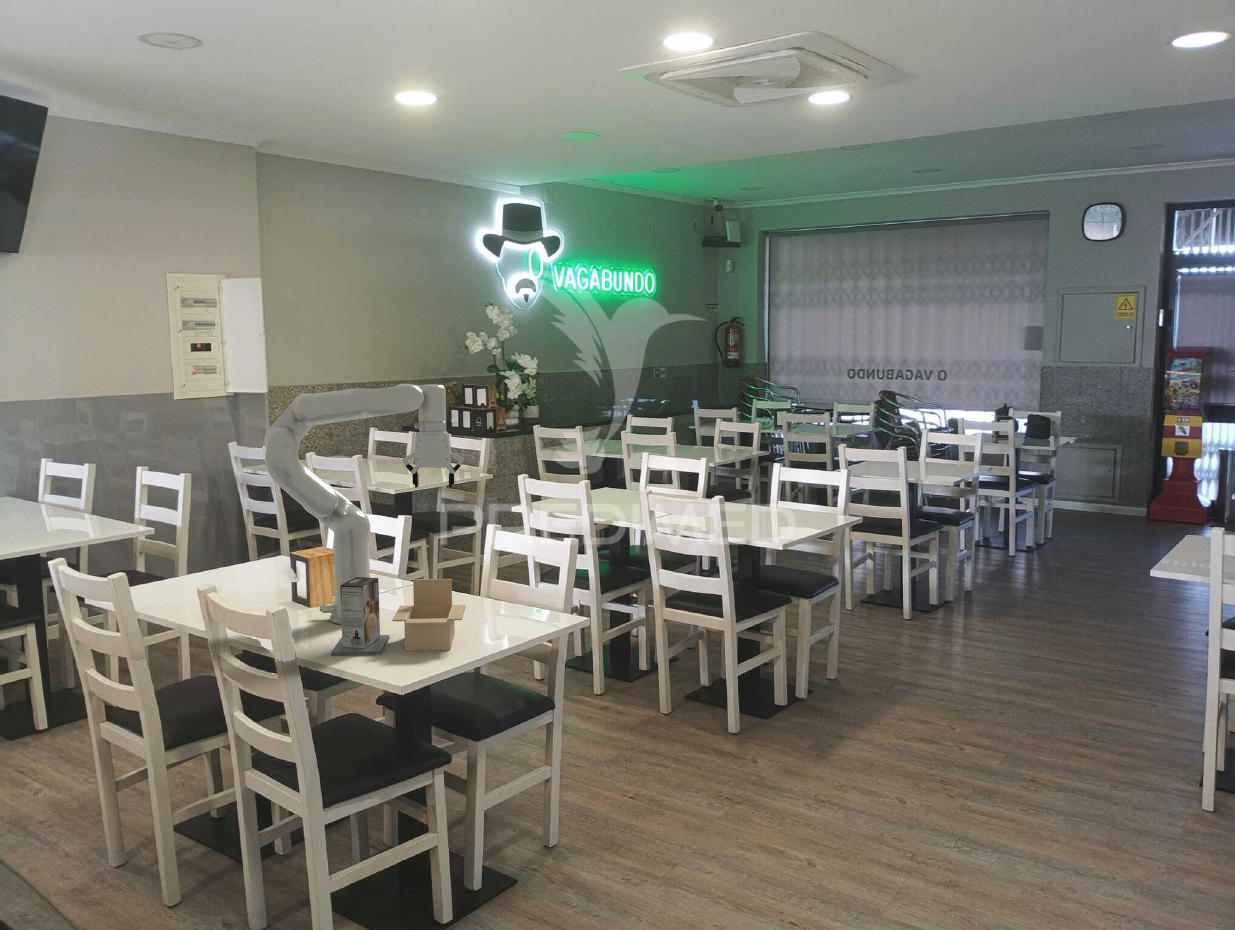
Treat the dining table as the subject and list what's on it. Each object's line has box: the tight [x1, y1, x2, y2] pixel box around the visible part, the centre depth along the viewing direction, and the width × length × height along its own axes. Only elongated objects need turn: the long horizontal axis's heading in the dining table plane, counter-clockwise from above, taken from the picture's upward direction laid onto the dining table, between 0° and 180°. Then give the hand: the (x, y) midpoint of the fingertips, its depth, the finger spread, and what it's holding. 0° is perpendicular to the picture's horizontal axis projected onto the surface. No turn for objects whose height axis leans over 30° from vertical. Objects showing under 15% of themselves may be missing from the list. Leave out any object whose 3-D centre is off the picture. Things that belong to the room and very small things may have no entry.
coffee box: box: [340, 577, 381, 648], centre depth 238 cm, size 9×6×16 cm
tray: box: [331, 634, 391, 657], centre depth 239 cm, size 12×14×1 cm
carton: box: [392, 578, 467, 652], centre depth 241 cm, size 17×17×15 cm
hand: (433, 487), depth 271 cm, fingers open, 9 cm apart
